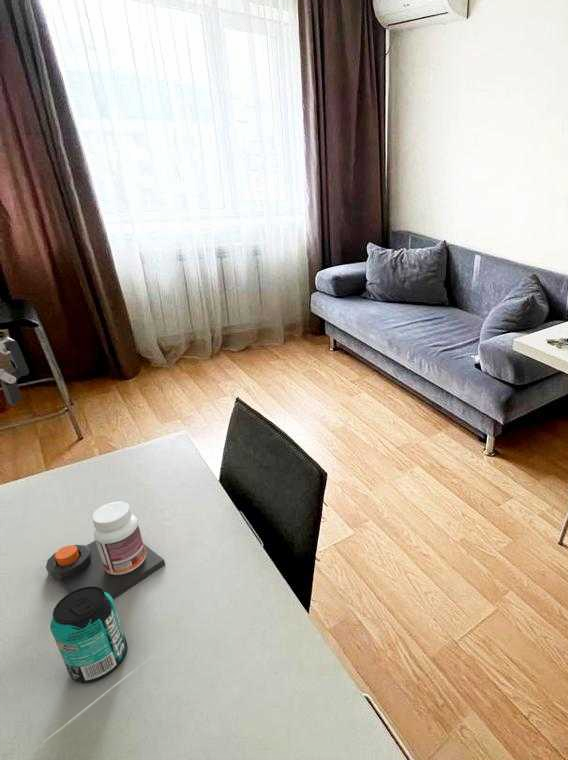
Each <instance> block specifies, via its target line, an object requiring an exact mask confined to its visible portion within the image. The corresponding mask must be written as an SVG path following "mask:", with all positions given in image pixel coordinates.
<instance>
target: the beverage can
mask: <svg viewBox="0 0 568 760" xmlns="http://www.w3.org/2000/svg"><path fill="white" fill-rule="evenodd" d="M121 623H122V622H121V620H120V616H119V614H118V611H117V608H116V604H115V600H113V599H112V597H111V596H110V595H109V594H108V593H106V592H104V591H103V590H102V589H101V588H99V587H95V586H89V587H84V588H80V589H78V590H75V591H73V592H71V593H68V594H67V595H65V596H64V597H62V598H61V599H60V600H59V601H58V602H57V603H56V604H55V607H54V608H53V611H52V617H51V620H50V627H49V628H50V632H51V634H52V637H53V638H54V641H55V644H56V647H57V648H58V650H59V654H60V655H61V658H62V661H63V663H64V665H65V668H66V670H67V672H68V675H69V677H70V678H71V679H72V681H74V682H76V683H80V684H89V683H93V682H97V681H99V680H102V679H104V678H106V677H107V676H109V675H110V674H111V673H113V672H114V671H115V670H117V668H118V667H119V666H120V665H121V664H122V663H123V661H124V659H125V658H126V656H127V653H128V649H129V646H128V641H127V638H126V636H125V633H124V630H123V627H122V624H121Z"/></svg>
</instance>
